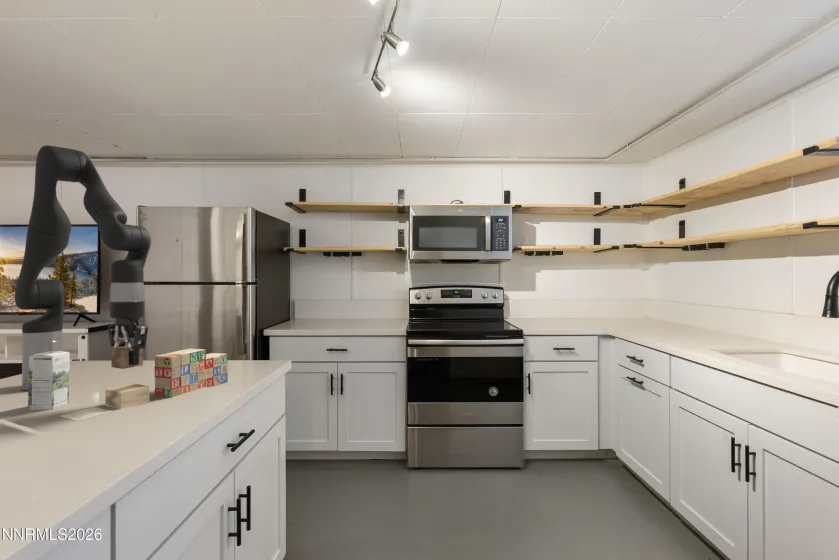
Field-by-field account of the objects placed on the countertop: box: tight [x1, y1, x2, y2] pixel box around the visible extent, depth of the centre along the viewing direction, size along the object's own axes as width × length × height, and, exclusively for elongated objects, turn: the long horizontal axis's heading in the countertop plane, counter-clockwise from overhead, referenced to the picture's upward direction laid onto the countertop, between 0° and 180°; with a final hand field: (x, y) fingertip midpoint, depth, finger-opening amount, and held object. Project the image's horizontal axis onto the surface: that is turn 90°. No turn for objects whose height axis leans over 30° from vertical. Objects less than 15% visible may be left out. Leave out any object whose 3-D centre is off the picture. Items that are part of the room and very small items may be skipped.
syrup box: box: [27, 350, 71, 411], centre depth 106 cm, size 6×6×14 cm
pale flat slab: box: [60, 400, 151, 422], centre depth 106 cm, size 15×17×1 cm
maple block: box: [104, 382, 150, 410], centre depth 109 cm, size 7×7×4 cm
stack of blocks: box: [154, 348, 229, 398], centre depth 125 cm, size 21×6×12 cm, turn 163°
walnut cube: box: [110, 345, 144, 370], centre depth 109 cm, size 5×5×5 cm
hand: (127, 363), depth 109 cm, fingers closed on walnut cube, 5 cm apart
